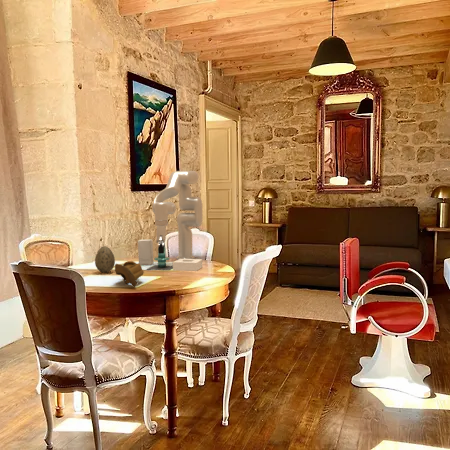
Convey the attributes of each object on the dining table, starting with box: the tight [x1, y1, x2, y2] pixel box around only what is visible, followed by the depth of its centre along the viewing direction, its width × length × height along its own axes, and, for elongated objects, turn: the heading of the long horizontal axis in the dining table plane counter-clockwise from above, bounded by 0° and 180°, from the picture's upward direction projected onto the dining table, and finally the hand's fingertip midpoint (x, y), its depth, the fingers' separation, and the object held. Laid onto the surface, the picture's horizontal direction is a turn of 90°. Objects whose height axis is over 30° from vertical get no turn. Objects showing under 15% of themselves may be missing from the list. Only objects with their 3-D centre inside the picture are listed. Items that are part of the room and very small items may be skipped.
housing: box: [172, 258, 203, 272], centre depth 253 cm, size 14×14×5 cm
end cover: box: [153, 246, 171, 268], centre depth 256 cm, size 9×9×12 cm
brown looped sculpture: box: [114, 260, 144, 287], centre depth 212 cm, size 18×13×22 cm
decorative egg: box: [94, 245, 116, 274], centre depth 242 cm, size 11×11×15 cm
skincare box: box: [137, 238, 155, 266], centre depth 271 cm, size 8×7×16 cm
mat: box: [146, 264, 173, 271], centre depth 256 cm, size 14×14×1 cm
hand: (161, 252), depth 256 cm, fingers open, 9 cm apart
